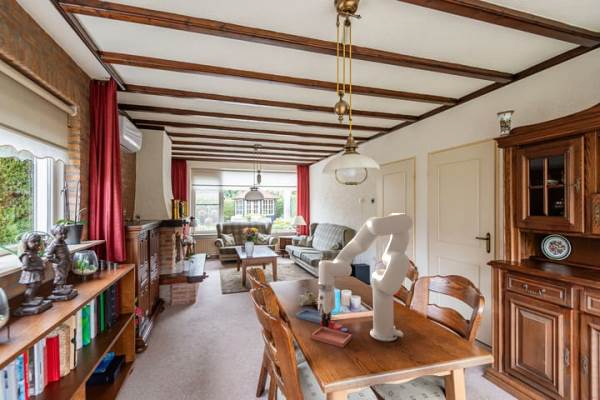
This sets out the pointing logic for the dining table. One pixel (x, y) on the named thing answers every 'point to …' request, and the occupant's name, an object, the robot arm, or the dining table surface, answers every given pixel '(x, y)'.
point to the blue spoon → (341, 330)
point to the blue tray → (309, 315)
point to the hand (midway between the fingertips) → (326, 325)
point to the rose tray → (331, 337)
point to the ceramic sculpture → (307, 299)
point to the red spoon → (332, 325)
